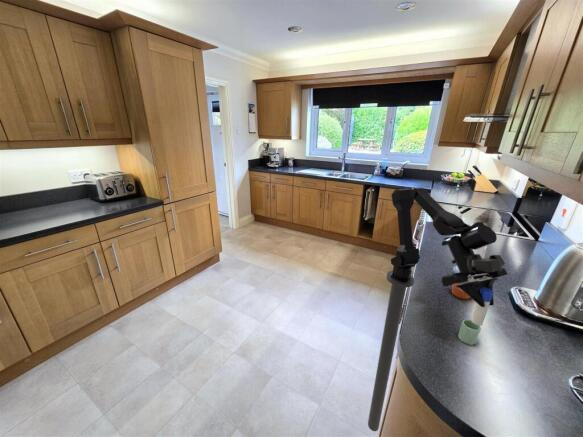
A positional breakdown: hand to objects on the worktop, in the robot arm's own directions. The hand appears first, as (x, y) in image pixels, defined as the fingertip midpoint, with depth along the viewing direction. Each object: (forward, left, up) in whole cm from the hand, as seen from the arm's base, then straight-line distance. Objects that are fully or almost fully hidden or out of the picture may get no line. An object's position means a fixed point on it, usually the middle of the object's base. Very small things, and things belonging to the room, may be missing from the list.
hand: (487, 306), depth 70 cm
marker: (-1, +1, -7) cm, 7 cm away
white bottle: (-12, +35, -14) cm, 39 cm away
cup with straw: (-11, +24, -14) cm, 29 cm away
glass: (-2, 0, -14) cm, 14 cm away
